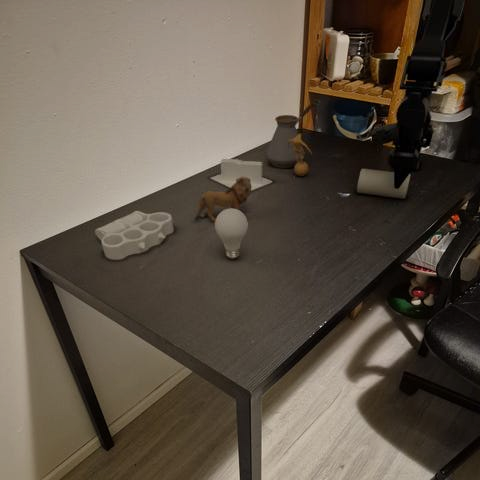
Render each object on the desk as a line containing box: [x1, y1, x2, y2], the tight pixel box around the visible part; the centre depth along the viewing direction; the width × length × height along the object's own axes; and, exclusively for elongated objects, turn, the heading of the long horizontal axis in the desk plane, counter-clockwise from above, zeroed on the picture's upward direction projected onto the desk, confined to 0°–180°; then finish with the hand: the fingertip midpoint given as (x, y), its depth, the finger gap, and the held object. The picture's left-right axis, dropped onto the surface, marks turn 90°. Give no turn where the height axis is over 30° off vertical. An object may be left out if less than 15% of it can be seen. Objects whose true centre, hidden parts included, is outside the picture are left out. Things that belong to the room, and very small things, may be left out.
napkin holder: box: [210, 158, 273, 192], centre depth 118 cm, size 15×11×6 cm
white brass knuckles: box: [94, 210, 175, 261], centre depth 95 cm, size 3×18×15 cm
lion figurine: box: [194, 176, 252, 222], centre depth 101 cm, size 15×5×9 cm, turn 110°
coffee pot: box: [265, 98, 321, 169], centre depth 126 cm, size 21×12×15 cm, turn 138°
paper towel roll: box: [356, 168, 412, 200], centre depth 108 cm, size 6×12×6 cm, turn 69°
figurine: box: [287, 133, 313, 177], centre depth 116 cm, size 8×6×12 cm
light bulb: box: [214, 207, 249, 260], centre depth 86 cm, size 7×7×11 cm
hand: (398, 180), depth 106 cm, fingers open, 9 cm apart
